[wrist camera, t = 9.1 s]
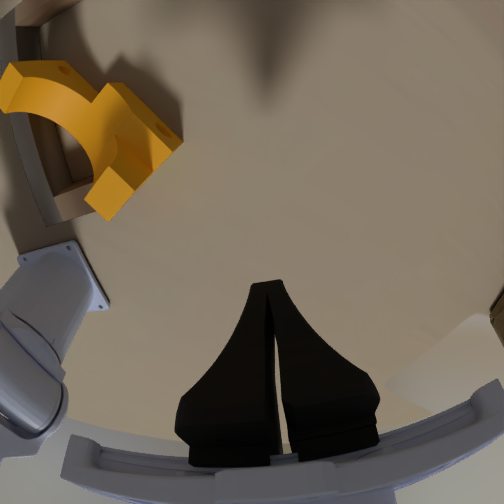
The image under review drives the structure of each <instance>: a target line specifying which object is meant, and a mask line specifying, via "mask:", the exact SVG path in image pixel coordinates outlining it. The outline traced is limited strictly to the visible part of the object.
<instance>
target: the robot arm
mask: <svg viewBox="0 0 504 504" xmlns="http://www.w3.org/2000/svg"><path fill="white" fill-rule="evenodd" d="M69 246H70V248H69ZM17 261H18V263H19V265H20V267H19V268H18V269H17V270H16V271H15V273H14V274H13V275H12V276H11V277H10V279H9V280H8V281H7V282H6V283H5V285H4V286H3V287H2V288H1V290H0V412H1V413H2V414H4V415H5V416H6V417H7V418H9V419H7V418H6V417H4V416H2V415H1V414H0V465H1V463H2V461H3V459H5V458H15V457H16V458H17V457H29V456H35V455H37V453H38V451H39V449H40V447H41V446H42V444H43V443H44V442H45V440H46V439H47V438H48V437H49V436H50V435H52V434H53V433H54V432H56V431H57V430H58V428H59V427H60V426H61V424H62V423H63V421H64V419H65V416H66V414H67V409H68V399H69V398H68V390H67V388H66V386H65V384H64V383H63V382H62V381H63V379H64V376H65V374H66V372H65V371H64V370H63V368H62V367H61V364H62V362H63V360H64V357H65V355H66V353H67V351H68V349H69V347H70V345H71V342H72V340H73V338H74V336H75V334H76V332H77V330H78V328H79V326H80V324H81V322H82V320H83V318H84V316H85V315H86V313H87V312H88V311H99V310H108V309H109V307H110V304H109V302H108V300H107V299H106V297H105V295H104V293H103V292H102V290H101V288H100V286H99V284H98V283H97V281H96V279H95V277H94V275H93V273H92V271H91V269H90V268H89V266H88V264H87V262H86V260H85V258H84V256H83V254H82V252H81V250H80V248H79V245H78V244H77V242H76V241H74V240H71V241H67V242H63V243H60V244H56V245H53V246H49V247H45V248H42V249H38V250H35V251H31V252H28V253H25V254H21V255H19V256H18V257H17ZM101 305H102V306H101ZM275 337H276V341H277V346H278V356H279V368H280V382H281V397H282V404H283V408H284V413H285V418H286V422H287V429H288V439H289V442H290V446H291V451H292V453H289V454H283V448H282V439H281V430H280V421H279V412H278V403H277V393H276V384H275ZM379 403H380V396H379V393H378V391H377V389H376V387H375V385H374V383H373V381H372V380H371V378H370V377H369V375H368V374H367V373H366V372H364V371H363V370H361V369H359V368H358V367H356V366H355V365H353V364H352V363H351V362H349V361H348V360H346V359H345V358H344V357H342V356H341V355H340V354H339V353H338V352H336V351H335V350H334V349H333V348H332V347H331V346H329V345H328V344H327V343H326V342H325V341H324V340H323V339H322V338H321V337H320V336H319V335H318V334H317V333H316V332H315V331H314V330H313V328H312V327H311V326H310V325H309V324H308V323H307V321H306V320H305V319H304V317H303V316H302V315H301V313H300V312H299V311H298V309H297V308H296V306H295V305H294V303H293V302H292V300H291V298H290V297H289V295H288V293H287V291H286V289H285V287H284V284H283V281H282V280H280V279H278V280H272V281H266V282H259V283H253V284H252V285H251V287H250V292H249V296H248V299H247V302H246V305H245V307H244V310H243V312H242V315H241V317H240V320H239V322H238V324H237V326H236V328H235V330H234V332H233V334H232V336H231V338H230V339H229V341H228V343H227V344H226V346H225V348H224V349H223V351H222V352H221V354H220V355H219V356H218V358H217V359H216V361H215V362H214V363H213V365H212V366H211V367H210V368H209V369H208V371H207V372H206V373H205V374H204V375H203V376H202V378H201V379H200V380H199V381H198V382H197V383H196V384H195V385H194V386H193V387H192V388H191V389H190V390H189V391H188V392H187V393H185V394H184V395H183V396H182V397H181V399H180V403H179V406H178V409H177V413H176V420H175V428H174V429H175V433H176V434H177V435H178V436H179V437H180V438H181V439H182V440H183V441H184V442H185V443H187V444H188V445H189V446H190V448H189V457H174V456H162V455H153V454H145V453H137V452H131V451H124V450H119V449H113V448H108V447H103V446H101V445H100V444H98V443H97V442H95V441H94V440H91V439H89V438H85V437H81V436H77V435H73V434H72V435H71V436H70V439H69V443H68V447H67V450H66V455H65V458H64V462H63V467H62V471H61V475H60V476H61V478H62V479H64V480H67V481H69V482H71V483H73V484H75V485H78V486H80V487H82V488H84V489H87V490H89V491H92V492H95V493H98V494H101V495H104V496H107V497H111V498H115V499H118V500H121V501H125V502H129V503H133V504H397V503H396V499H395V493H394V491H395V490H398V489H401V488H403V487H406V486H408V485H411V484H414V483H416V482H418V481H421V480H423V479H425V478H428V477H430V476H432V475H434V474H436V473H438V472H440V471H442V470H445V469H446V468H449V467H451V466H452V465H454V464H456V463H458V462H460V461H461V460H464V459H465V458H467V457H469V456H471V455H472V454H474V453H476V452H478V451H479V450H481V449H482V448H484V447H486V446H487V445H489V444H491V443H492V442H493V441H495V440H496V439H497V438H498V437H500V436H501V435H502V434H504V390H503V388H502V386H501V384H500V382H499V380H498V379H495V380H493V381H491V382H490V383H488V384H486V385H484V386H482V387H481V388H479V389H478V390H477V391H475V392H474V393H473V395H472V396H471V397H470V399H469V400H467V401H465V402H463V403H461V404H459V405H456V406H454V407H452V408H450V409H448V410H446V411H443V412H441V413H439V414H436V415H434V416H431V417H429V418H426V419H424V420H421V421H419V422H416V423H413V424H411V425H408V426H405V427H402V428H399V429H396V430H393V431H390V432H387V433H384V434H380V435H378V432H377V428H376V423H377V420H376V416H375V411H376V409H377V407H378V405H379ZM353 460H354V461H353Z"/></svg>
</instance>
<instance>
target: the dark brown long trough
mask: <svg viewBox="0 0 504 504" xmlns="http://www.w3.org/2000/svg"><path fill="white" fill-rule="evenodd" d="M80 1H82V0H23V1H22V2H21V3H19V4H18V5H17V6H16V7H15V8H13V9H12V10H11V11H10V12H9V13H8V14H6V15H5V16H4V17H3V18H2V19H1V20H0V60H1V70H2V76H3V74H4V72H5V70H6V68H7V66H8V64H9V63H10V62H19V61H37V60H42V58H41V50H40V42H39V32H38V28H39V27H40V26H42V25H43V24H45V23H46V22H48V21H49V20H51V19H52V18H54V17H55V16H57V15H58V14H60V13H61V12H63V11H65V10H66V9H68V8H70V7H71V6H73V5H75V4H77V3H78V2H80ZM9 117H10V121H11V125H12V130H13V133H14V137H15V141H16V145H17V148H18V152H19V155H20V158H21V161H22V165H23V168H24V171H25V174H26V177H27V179H28V182H29V185H30V188H31V190H32V193H33V196H34V198H35V201H36V203H37V206H38V208H39V211H40V213H41V215H42V218H43V220H44V222H45V224H46V227H48V226H51V225H54V224H57V223H60V222H63V221H66V220H70V219H73V218H76V217H79V216H82V215H86V214H89V213H92V212H96V210H95V209H94V208H92V207H91V206H90V205H89V204H88V203H87V202H86V201H85V200H84V199H85V197H86V196H87V194H88V193H89V191H90V190H91V189H92V186H93V181H94V175H93V176H90V177H87V178H85V179H82V180H79V181H77V182H74V183H73V181H72V178H71V175H70V172H69V169H68V166H67V163H66V160H65V157H64V154H63V151H62V147H61V144H60V140H59V137H58V133H57V130H56V126H55V122H54V121H52V120H50V119H48V118H46V117H43V116H40V115H37V114H33V113H28V112H11V113H9Z"/></svg>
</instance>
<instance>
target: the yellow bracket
mask: <svg viewBox="0 0 504 504" xmlns="http://www.w3.org/2000/svg"><path fill="white" fill-rule="evenodd" d="M0 109H1V110H2V111H3V112H4V114H6V113H11V112H28V113H33V114H37V115H40V116H43V117H46V118H48V119H50V120H52V121H54V122H56V123H57V124H59V125H60V126H62V127H63V128H65V129H66V130H67V131H68V132H70V133H71V134H72V135H73V136H74V137H75V138H76V139H77V140H78V142H79V143H80V144H81V145H82V147H83V148H84V150H85V151H86V153H87V155H88V156H89V159H90V161H91V164H92V167H93V173H94V181H93V186H92V189H91V190H90V191H89V193H88V194H87V196H86V197H85V199H84V200H85V201H86V202H87V203H88V204H89V205H90V206H91V207H92V208H94V209H95V210H96V211H97V212H98V213H99V214H100V215H101V216H102V217H103V218H104V219H105V220H106V221H107V222H109V221H110V220H111V219H112V217H113V216H114V215H115V214H116V213H117V212H118V210H119V209H120V208H121V207H122V206H123V205H124V204H125V203H126V201H127V200H128V199H129V198H130V197H131V196H132V195H133V194H134V193H135V192H136V190H137V189H138V188H139V187H140V186H141V185H142V184H143V183H144V182H145V181H146V180H147V179H148V178H149V177H150V176H151V174H152V173H153V172H154V171H155V170H156V169H157V168H158V167H159V166H160V165H161V164H162V163H163V162H164V161H165V160H166V159H167V158H168V157H169V156H170V155H171V154H172V153H173V152H174V151H175V150H176V149H177V148H178V147H179V146H180V145H181V144H182V143H183V141H182V140H181V139H180V138H179V137H178V136H177V135H176V134H175V133H174V132H173V131H172V130H171V129H170V128H169V127H168V126H167V125H166V124H165V123H164V122H163V121H162V120H161V119H160V118H159V117H158V116H157V115H156V114H155V113H154V112H153V111H152V110H151V109H150V108H149V107H148V106H146V105H145V104H144V103H143V102H142V101H141V100H140V99H139V98H138V97H137V96H136V95H135V94H134V93H133V92H132V91H131V90H130V89H129V88H128V87H127V86H126V85H125V84H124V83H123V82H113V83H107V84H106V85H105V87H104V88H103V89H102V90H101V92H100V93H98V92H97V91H96V90H95V89H94V88H93V87H92V86H91V85H90V84H89V83H88V82H87V81H86V80H85V79H84V78H83V77H82V76H81V75H80V74H79V73H78V72H77V71H76V70H75V69H73V68H72V67H71V66H70V65H69V64H68V63H67V62H66V61H65V60H37V61H19V62H10V63H9V64H8V66H7V68H6V70H5V72H4V74H3V76H2V78H1V80H0Z"/></svg>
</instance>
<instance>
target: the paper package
mask: <svg viewBox="0 0 504 504" xmlns="http://www.w3.org/2000/svg"><path fill="white" fill-rule="evenodd" d="M489 317H490V322H491V324H492V326H493V328H494V330H495V332H496V334H497V335H498V337H499V339H500V341H501V343H502V345H503V347H504V293H503V295H502V296H501V298H500V299H499V301H498V302H497V304H496V305H495V307H494V309H493V310H492V312H491V314H490V316H489Z"/></svg>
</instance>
